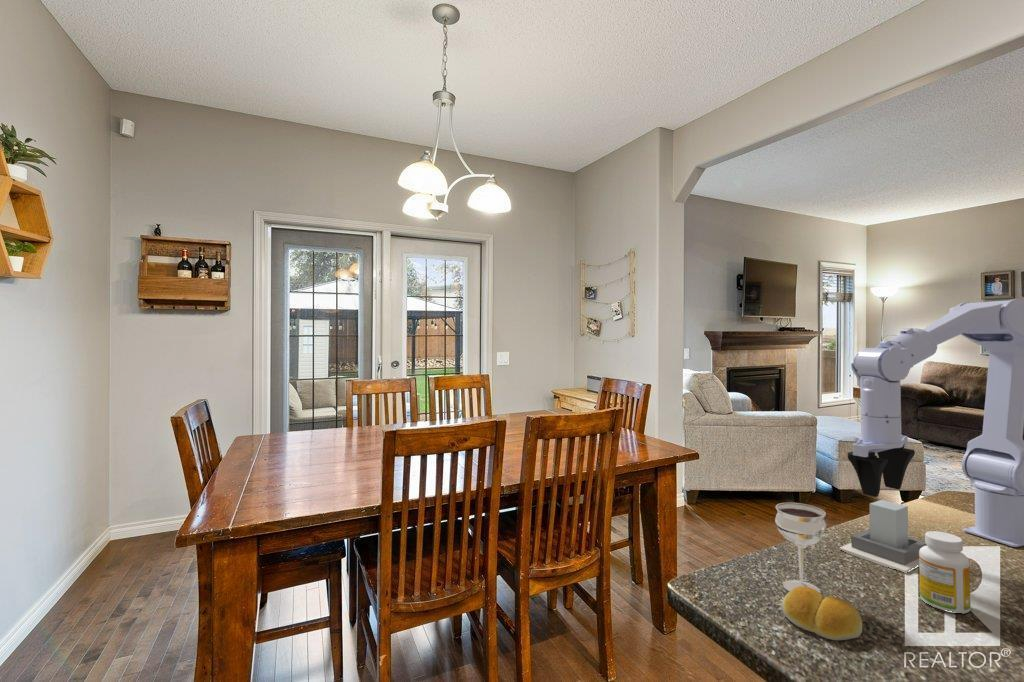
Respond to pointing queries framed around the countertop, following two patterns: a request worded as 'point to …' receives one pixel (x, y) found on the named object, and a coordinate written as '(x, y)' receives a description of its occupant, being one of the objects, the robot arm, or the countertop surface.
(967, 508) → the countertop surface
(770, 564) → the countertop surface
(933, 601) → the supplement bottle
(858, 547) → the dock
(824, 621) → the bread roll
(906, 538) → the block
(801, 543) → the wineglass
